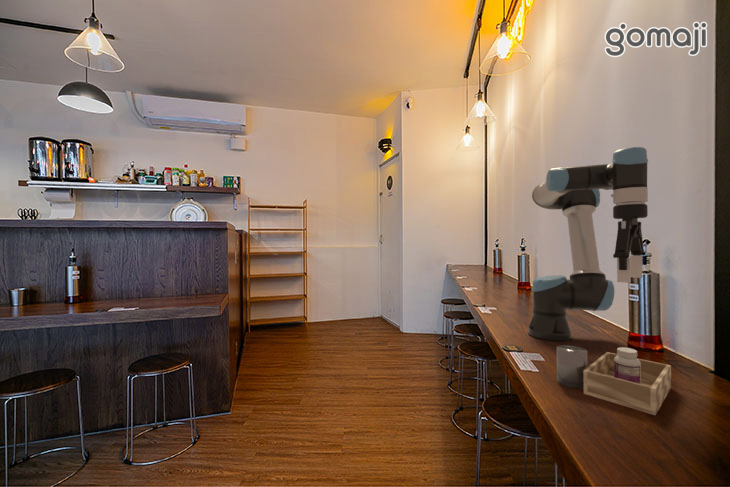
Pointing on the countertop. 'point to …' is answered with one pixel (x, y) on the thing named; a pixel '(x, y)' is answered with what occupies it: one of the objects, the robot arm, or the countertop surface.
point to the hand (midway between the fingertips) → (630, 279)
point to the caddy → (629, 384)
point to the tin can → (571, 365)
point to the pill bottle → (627, 365)
